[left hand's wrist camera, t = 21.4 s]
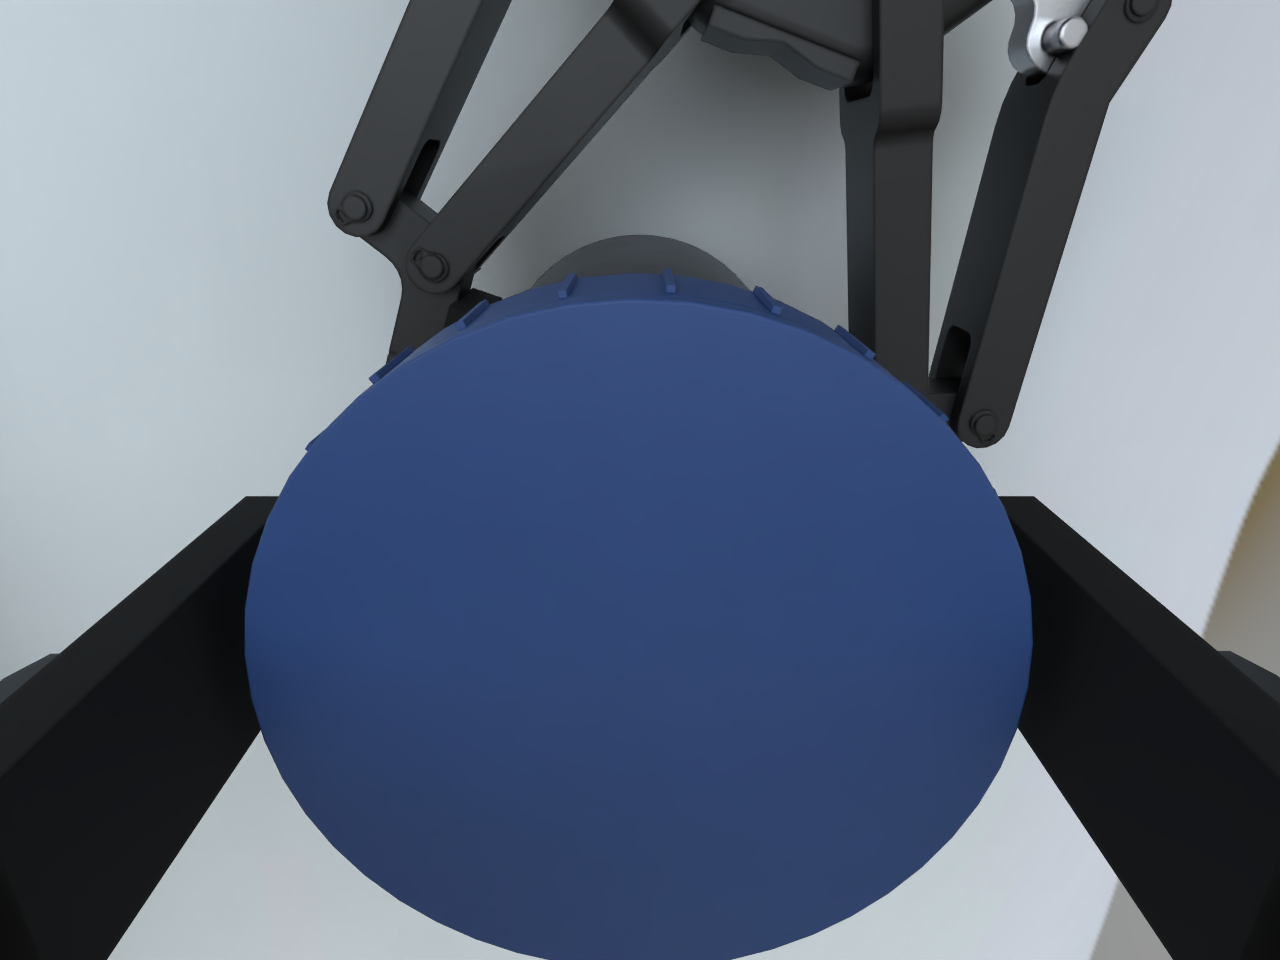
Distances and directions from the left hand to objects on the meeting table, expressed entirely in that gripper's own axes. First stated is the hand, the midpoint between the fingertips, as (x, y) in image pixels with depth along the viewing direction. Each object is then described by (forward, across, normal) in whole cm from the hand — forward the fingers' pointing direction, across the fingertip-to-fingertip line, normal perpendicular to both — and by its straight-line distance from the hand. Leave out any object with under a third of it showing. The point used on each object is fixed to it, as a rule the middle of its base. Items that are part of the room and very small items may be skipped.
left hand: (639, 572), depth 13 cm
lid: (-3, 0, 0) cm, 3 cm away
